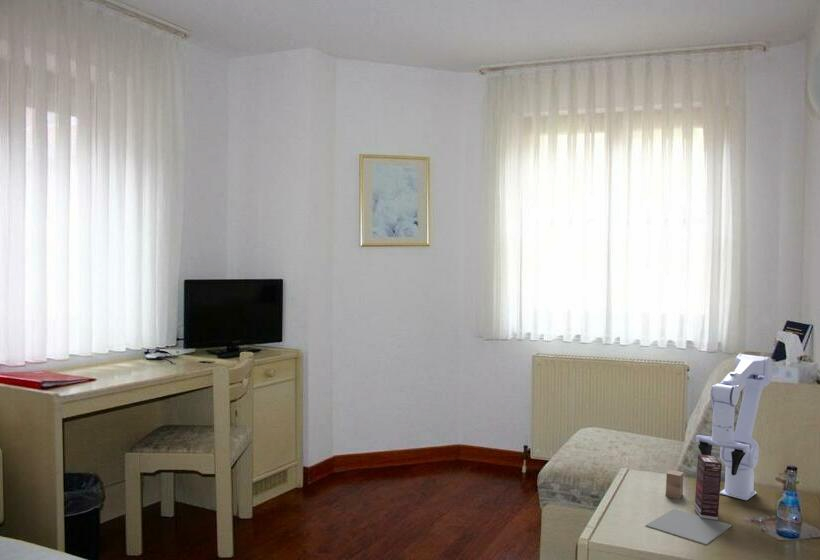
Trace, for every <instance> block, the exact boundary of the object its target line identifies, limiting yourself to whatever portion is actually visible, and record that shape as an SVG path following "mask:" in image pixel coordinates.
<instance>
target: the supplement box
mask: <svg viewBox="0 0 820 560" xmlns="http://www.w3.org/2000/svg"><path fill="white" fill-rule="evenodd" d="M722 465H723V464H722V461H720V460H719V459H718V458H717V457H716V456H715V455H711V456H710V455H702V454H698V455H697V467H696V469H697V470H696V479H695V480H696V481H695V493H694V495H695V496H694V510H695V512H696V514H698V516H700V517H701V518H705V519H712V520H715V521H718V520H719V507H720V496H721V494H720V492H721V482H722V481H721V479H722V477H721V476H722V468H723V466H722Z"/></svg>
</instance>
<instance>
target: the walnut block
mask: <svg viewBox="0 0 820 560" xmlns="http://www.w3.org/2000/svg"><path fill="white" fill-rule="evenodd" d="M665 483H666V484H665V496H666V497H669V498H675V499H679V500H680V499H681V497H682V496H683V491H684V472H683V471H678V470H672V469H669V470H668V471H667V472H666V481H665Z"/></svg>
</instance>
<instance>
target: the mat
mask: <svg viewBox="0 0 820 560" xmlns="http://www.w3.org/2000/svg"><path fill="white" fill-rule="evenodd" d="M732 526H733V524H729V523H725V522H721V521H718V520H712V519H705V518H701V517H700V516H699V514H698V515H697V514H694V513H692V512H691V513H690V512H687V511H684V510H679V509H678V508H677V509H676V508H672V509H671V510H668V511H667V512H665V513H664V514H662V515H660V516H659V517H657V518H655V519H654V520H652V521H650V522H648V523H647V524H645V527H647V528H651V529H654V530H657V531H660V532H663V533H667V534H670V535H673V536H675V537H679V538H682V539H685V540H688V541H692V542H695V543H697V544H701V545H705V546H707V545H709V544H710V543H711V542H713V541H714V540H715V539H717V538H718V537H719V536H721V535H722V534H724V533H725V532H727V530H729V529H730V528H732Z"/></svg>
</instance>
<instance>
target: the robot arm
mask: <svg viewBox="0 0 820 560" xmlns="http://www.w3.org/2000/svg"><path fill="white" fill-rule="evenodd" d="M773 363H774V362H773V359H772V358H771V357H770V356H761V355H753V354H745V353H740V352H739V353H738V355H736V357H735V360H734V368H735V369H734V371H730V372H729V373H727V374H726V375H725V376H724V378H723V379H722V381H720V382H719V383H716V384H713V385H712V387H711V389H710V395H709V397H710V402H711V406H710V407H711V409H712V425H711V426H712V427H711V436H709V435H703V434H697V435H695V442H696V443H698V444H697V446H698V449H699V452H700V455H710V456H712V450H713V446H716V447H720V450H719V457H720V459H721V462H723V465H725V475H724V477H725V478H724V488H723V489H722V490H720V495H723V496H727V497H732V498H736V499H738V500H739V499H740V500H743V501H748V500H749V499H750V498H752V497H753V496H755V495H756V494H757V491H754V488H755V485H754V484H755V470H754V469H755V468H756V467H757V466H758V463H759V457H760V446H759V443H758V442H757V441H756V440H755V439H754V438H753V437H752V435H753V431H754V427H755V423H756V420H757V419H756V418H757V415H758V410H759V405H760V400H761V395H762V393H763V389H764V387H767V386H769V385H770V383H771V379H772V375H773V372H774V364H773ZM743 389H744V392H743V396H742V400H741V405H740V407H739V408H740V409H739V413H738V417H737V421H736V425H735V413H736V412H735V411H736V410H735V409H736V406H737V404H738V402H739V399H740V396H741V392H742V390H743Z"/></svg>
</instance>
